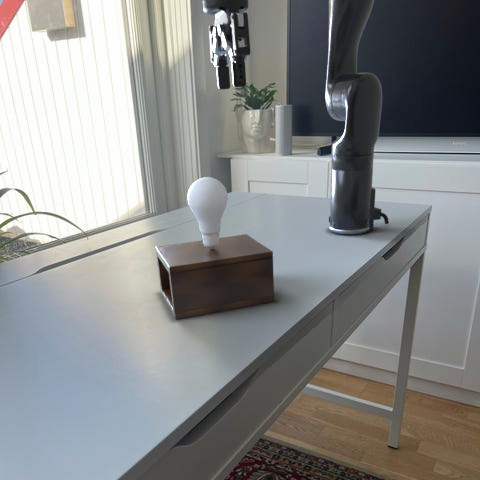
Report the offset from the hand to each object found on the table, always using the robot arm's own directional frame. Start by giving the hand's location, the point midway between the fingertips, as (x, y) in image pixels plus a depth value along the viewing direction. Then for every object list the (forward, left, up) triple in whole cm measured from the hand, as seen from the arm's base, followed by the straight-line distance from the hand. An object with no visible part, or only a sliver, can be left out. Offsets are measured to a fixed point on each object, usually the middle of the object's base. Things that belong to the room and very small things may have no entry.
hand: (231, 88), depth 84 cm
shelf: (+11, +18, -32) cm, 38 cm away
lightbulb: (+11, +18, -24) cm, 31 cm away
